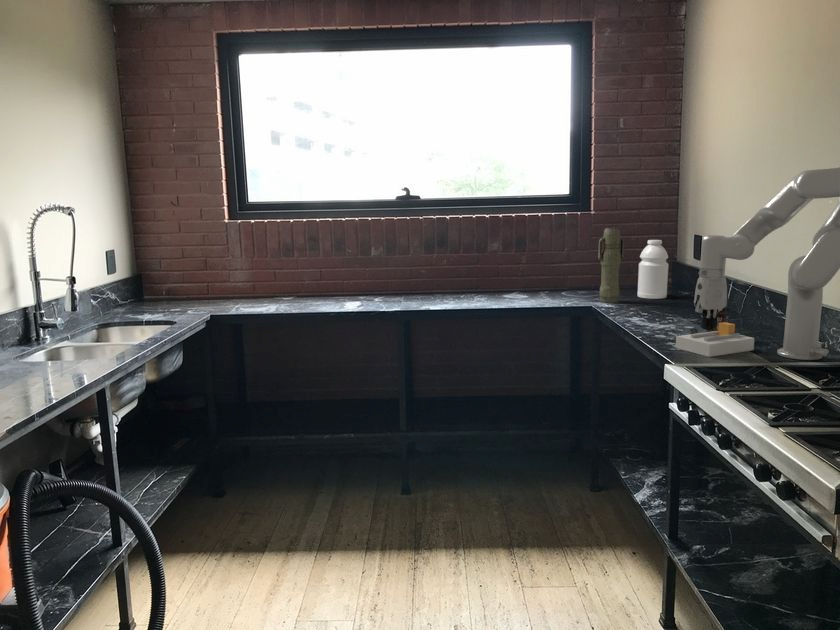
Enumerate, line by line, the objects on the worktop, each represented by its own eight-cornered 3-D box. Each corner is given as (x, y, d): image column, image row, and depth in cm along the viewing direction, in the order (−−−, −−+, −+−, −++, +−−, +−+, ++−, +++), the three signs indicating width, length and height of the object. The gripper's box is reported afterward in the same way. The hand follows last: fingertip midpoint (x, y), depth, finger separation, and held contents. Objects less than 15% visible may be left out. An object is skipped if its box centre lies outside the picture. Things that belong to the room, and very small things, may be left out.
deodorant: (714, 338, 240) (716, 296, 237) (702, 335, 246) (705, 294, 243) (728, 337, 242) (731, 296, 239) (716, 334, 247) (719, 293, 245)
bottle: (633, 294, 342) (636, 239, 337) (661, 294, 341) (664, 239, 336) (641, 299, 328) (644, 241, 323) (670, 299, 328) (673, 241, 323)
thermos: (593, 300, 325) (595, 227, 318) (615, 299, 327) (618, 227, 321) (602, 303, 316) (605, 228, 310) (624, 302, 319) (628, 227, 313)
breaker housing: (753, 350, 222) (754, 335, 222) (708, 356, 214) (709, 341, 213) (719, 341, 235) (719, 327, 234) (675, 347, 227) (676, 333, 226)
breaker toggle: (734, 336, 225) (735, 324, 224) (727, 336, 224) (728, 325, 223) (724, 333, 228) (725, 322, 228) (717, 334, 227) (718, 323, 226)
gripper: (703, 276, 213) (699, 333, 216) (738, 274, 218) (733, 329, 222) (685, 273, 219) (681, 328, 223) (719, 271, 225) (715, 325, 229)
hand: (707, 329), depth 222 cm, fingers closed
